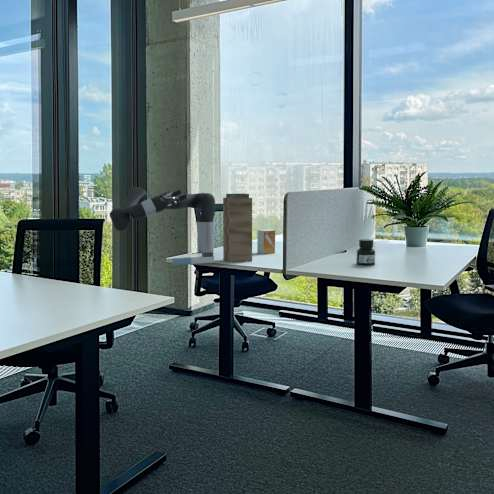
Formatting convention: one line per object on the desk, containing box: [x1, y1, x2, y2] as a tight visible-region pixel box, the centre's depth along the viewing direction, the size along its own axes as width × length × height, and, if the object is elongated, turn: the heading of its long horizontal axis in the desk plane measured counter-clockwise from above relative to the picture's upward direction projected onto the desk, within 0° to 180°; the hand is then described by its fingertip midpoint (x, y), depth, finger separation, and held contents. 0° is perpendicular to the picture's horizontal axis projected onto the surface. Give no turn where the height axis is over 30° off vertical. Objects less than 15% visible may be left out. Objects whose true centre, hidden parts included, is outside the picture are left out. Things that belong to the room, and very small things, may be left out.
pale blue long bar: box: [171, 251, 215, 266], centre depth 269 cm, size 3×21×5 cm, turn 113°
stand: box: [222, 193, 253, 263], centre depth 276 cm, size 10×12×34 cm
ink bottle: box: [356, 238, 376, 266], centre depth 267 cm, size 10×9×12 cm
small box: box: [256, 229, 276, 255], centre depth 304 cm, size 8×6×13 cm
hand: (183, 193), depth 261 cm, fingers open, 8 cm apart
